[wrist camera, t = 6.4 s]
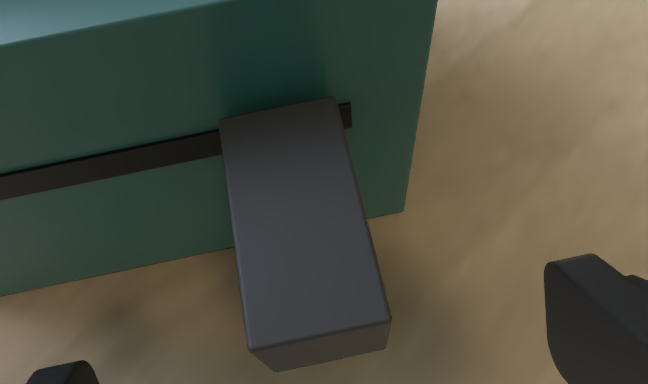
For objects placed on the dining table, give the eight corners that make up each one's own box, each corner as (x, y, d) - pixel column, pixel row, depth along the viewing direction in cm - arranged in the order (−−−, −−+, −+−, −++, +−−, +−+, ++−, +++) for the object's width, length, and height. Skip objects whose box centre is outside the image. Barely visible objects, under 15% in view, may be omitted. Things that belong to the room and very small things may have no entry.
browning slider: (387, 349, 12) (393, 321, 9) (274, 373, 12) (247, 352, 9) (341, 160, 14) (335, 93, 11) (245, 180, 14) (216, 117, 11)
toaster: (410, 210, 19) (480, -151, 8) (-32, 303, 19) (-673, 75, 7) (346, -7, 24) (329, -433, 12) (-8, 65, 24) (-371, -304, 12)
